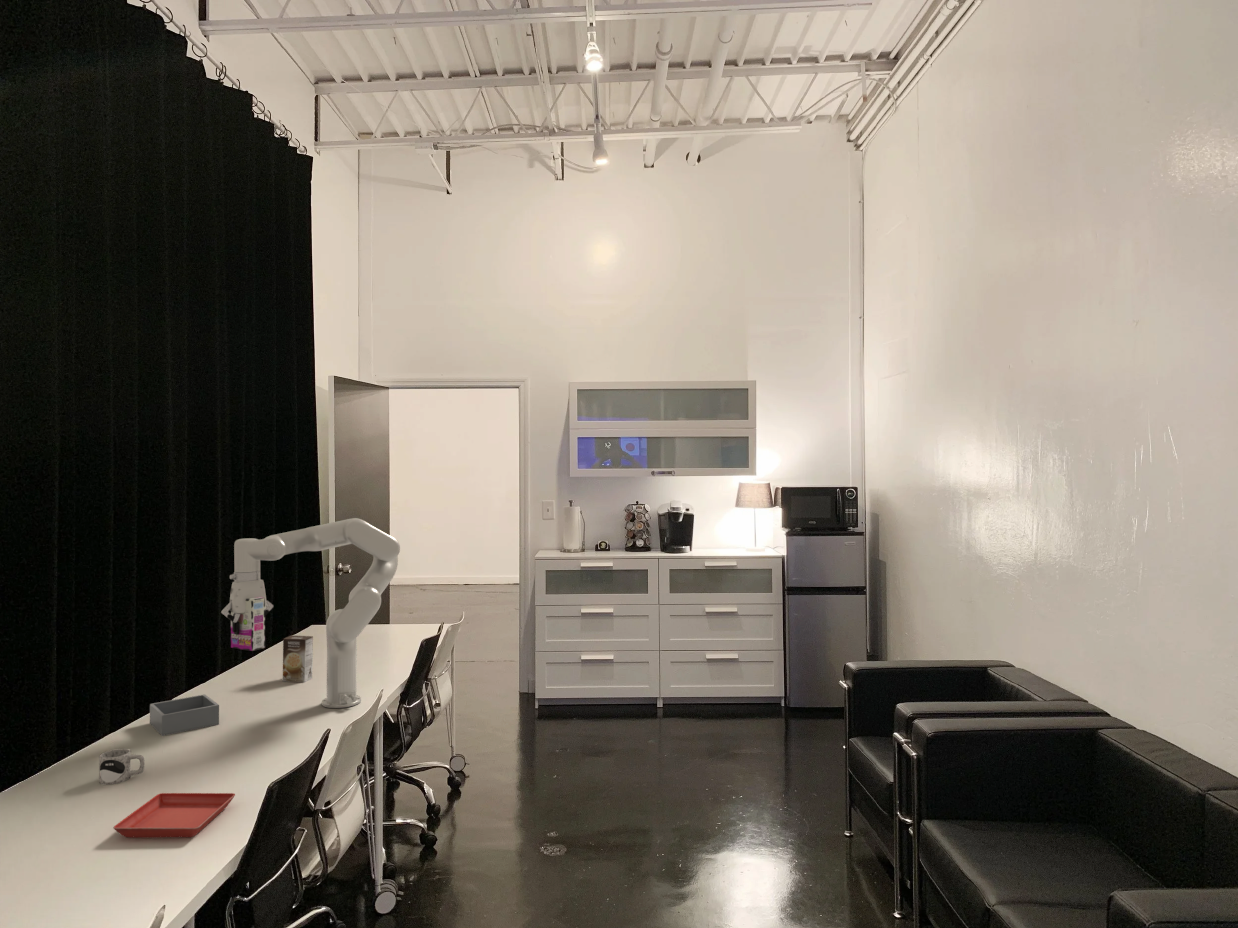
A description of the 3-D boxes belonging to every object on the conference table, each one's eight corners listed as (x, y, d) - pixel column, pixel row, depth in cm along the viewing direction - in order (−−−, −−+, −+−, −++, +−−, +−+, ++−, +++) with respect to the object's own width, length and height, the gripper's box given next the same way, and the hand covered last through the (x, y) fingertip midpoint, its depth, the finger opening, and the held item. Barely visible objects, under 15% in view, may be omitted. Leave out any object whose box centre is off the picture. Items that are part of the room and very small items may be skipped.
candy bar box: (266, 648, 249) (265, 597, 249) (252, 651, 245) (251, 599, 245) (243, 644, 254) (243, 594, 254) (229, 647, 250) (229, 597, 250)
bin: (218, 724, 240) (219, 704, 240) (161, 735, 229) (162, 715, 230) (204, 712, 252) (204, 694, 252) (149, 723, 241) (149, 703, 241)
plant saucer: (236, 805, 183) (236, 791, 183) (197, 842, 165) (197, 826, 165) (159, 806, 182) (159, 792, 182) (111, 843, 164) (111, 827, 164)
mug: (94, 785, 193) (95, 759, 193) (104, 775, 200) (105, 749, 200) (140, 781, 196) (140, 755, 196) (148, 771, 202) (148, 746, 202)
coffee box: (281, 681, 289) (281, 638, 289) (290, 677, 295) (290, 634, 295) (304, 682, 288) (305, 639, 288) (313, 677, 294) (313, 635, 294)
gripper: (222, 580, 241) (222, 638, 241) (279, 575, 253) (279, 630, 253) (214, 578, 246) (215, 634, 246) (271, 573, 258) (271, 626, 258)
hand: (248, 631), depth 250 cm, fingers closed on candy bar box, 6 cm apart
